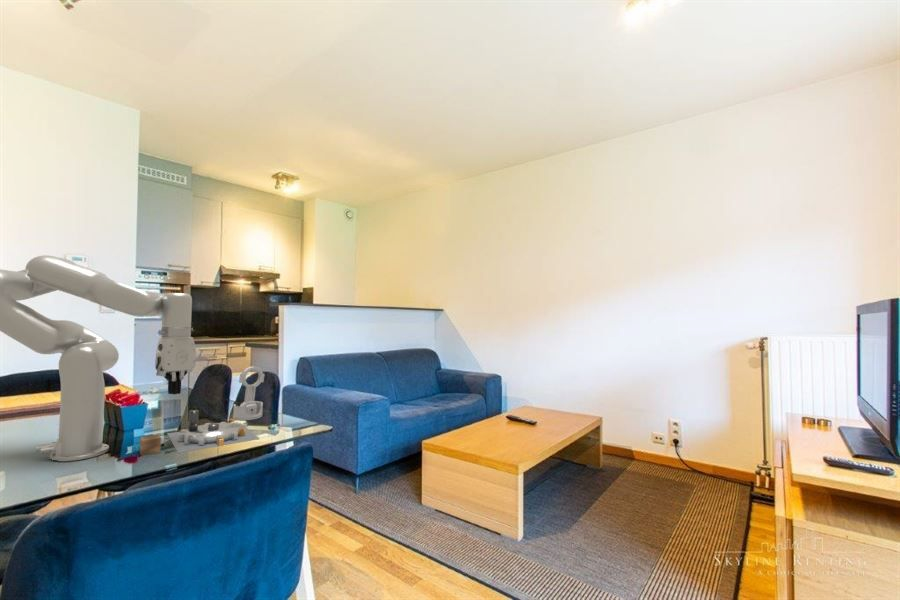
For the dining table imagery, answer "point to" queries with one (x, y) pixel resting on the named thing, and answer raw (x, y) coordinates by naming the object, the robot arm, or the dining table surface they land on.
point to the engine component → (249, 398)
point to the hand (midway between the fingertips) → (174, 393)
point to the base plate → (195, 446)
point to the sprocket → (209, 431)
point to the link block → (150, 444)
